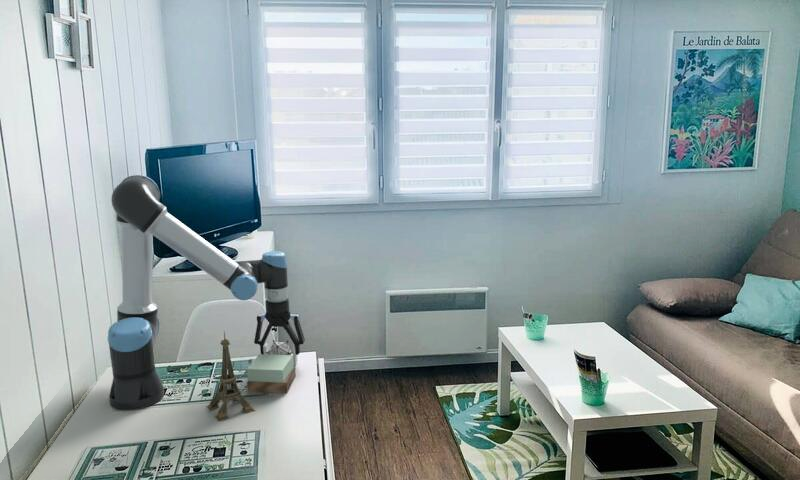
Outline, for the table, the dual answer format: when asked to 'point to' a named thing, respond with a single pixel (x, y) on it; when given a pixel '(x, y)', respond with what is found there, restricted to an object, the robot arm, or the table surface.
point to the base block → (272, 385)
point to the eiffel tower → (227, 392)
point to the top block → (270, 368)
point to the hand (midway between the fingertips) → (280, 363)
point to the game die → (280, 349)
